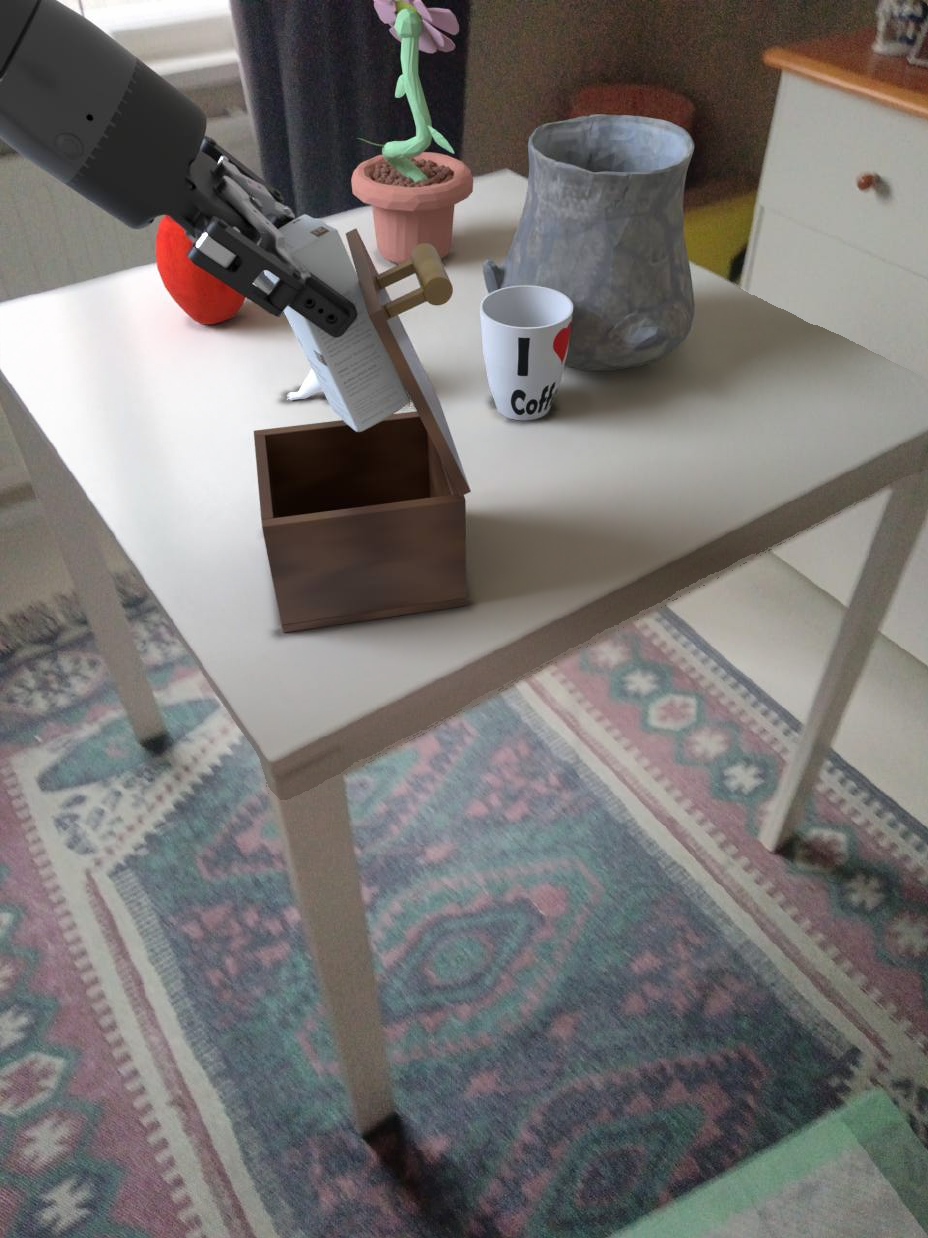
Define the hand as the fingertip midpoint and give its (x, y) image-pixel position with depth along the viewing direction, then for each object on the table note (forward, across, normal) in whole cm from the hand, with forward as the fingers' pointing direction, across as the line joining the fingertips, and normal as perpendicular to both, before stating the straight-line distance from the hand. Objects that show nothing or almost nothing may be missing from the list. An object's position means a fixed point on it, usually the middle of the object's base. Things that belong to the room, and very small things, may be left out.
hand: (339, 295), depth 61 cm
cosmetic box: (+6, -2, +4) cm, 8 cm away
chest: (+15, -1, +16) cm, 22 cm away
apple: (+8, +43, +23) cm, 49 cm away
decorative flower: (+26, +53, +6) cm, 60 cm away
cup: (+28, +18, +4) cm, 34 cm away
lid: (+6, -1, +1) cm, 6 cm away
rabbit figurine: (+17, +26, +14) cm, 34 cm away
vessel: (+35, +27, -3) cm, 45 cm away
